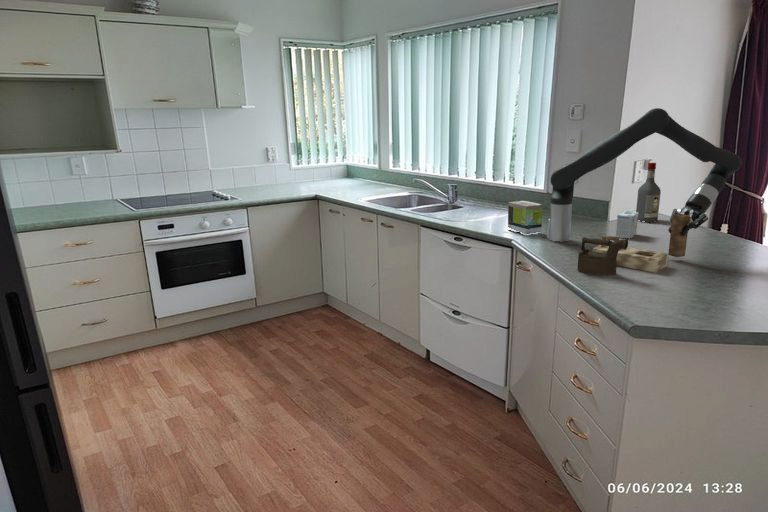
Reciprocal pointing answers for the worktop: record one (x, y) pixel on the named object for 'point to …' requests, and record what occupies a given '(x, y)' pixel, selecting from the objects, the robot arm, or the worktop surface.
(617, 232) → the light bulb box
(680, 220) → the walnut key
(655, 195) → the liquor
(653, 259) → the pine toolbox
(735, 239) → the worktop surface
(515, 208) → the tea box
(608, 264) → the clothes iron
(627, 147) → the robot arm
